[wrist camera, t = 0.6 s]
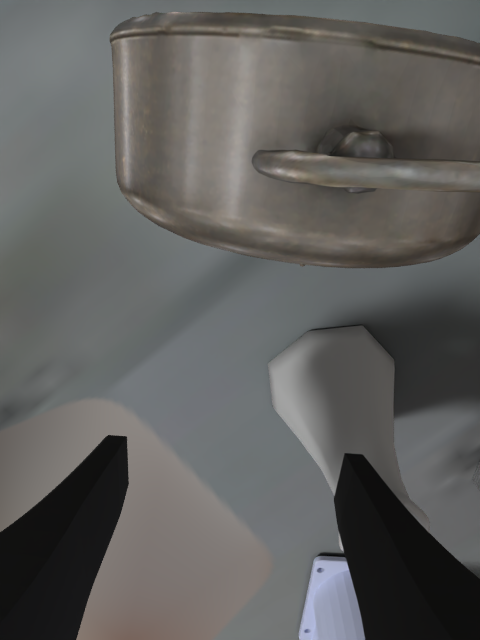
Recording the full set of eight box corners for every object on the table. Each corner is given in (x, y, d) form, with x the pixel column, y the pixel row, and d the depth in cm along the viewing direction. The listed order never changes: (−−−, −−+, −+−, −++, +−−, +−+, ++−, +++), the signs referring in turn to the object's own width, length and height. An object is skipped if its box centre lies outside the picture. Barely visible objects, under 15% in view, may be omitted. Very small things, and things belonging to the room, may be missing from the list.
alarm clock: (420, 94, 18) (1393, -160, 3) (388, 221, 20) (823, 475, 5) (163, 62, 17) (-367, -423, 2) (159, 195, 19) (-128, 382, 5)
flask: (246, 353, 23) (245, 498, 14) (372, 302, 21) (465, 424, 12) (295, 447, 25) (323, 622, 16) (411, 406, 24) (512, 572, 15)
